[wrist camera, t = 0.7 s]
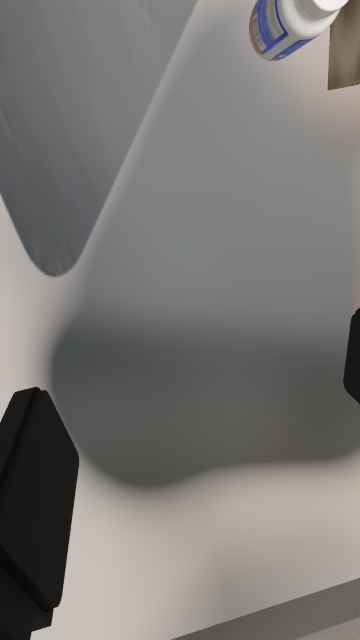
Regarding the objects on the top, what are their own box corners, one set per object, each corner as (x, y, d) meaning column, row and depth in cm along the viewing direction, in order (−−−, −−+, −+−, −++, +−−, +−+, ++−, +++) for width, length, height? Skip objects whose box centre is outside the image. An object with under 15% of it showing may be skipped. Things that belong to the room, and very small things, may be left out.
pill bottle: (308, 3, 29) (386, -64, 21) (286, 71, 31) (348, 35, 23) (259, -23, 28) (321, -106, 19) (239, 50, 30) (287, 4, 21)
